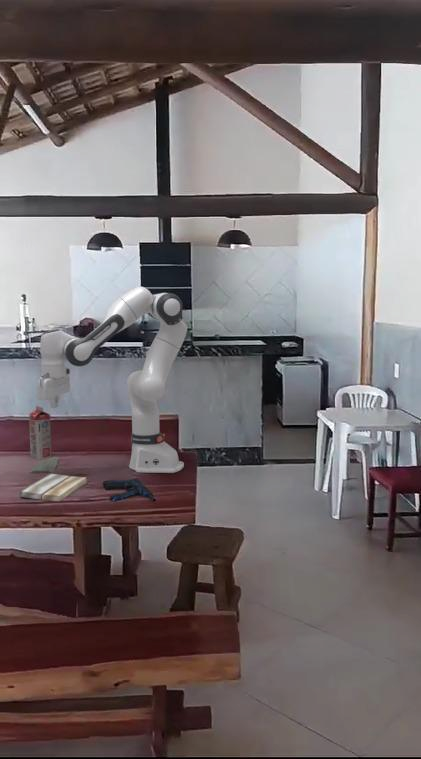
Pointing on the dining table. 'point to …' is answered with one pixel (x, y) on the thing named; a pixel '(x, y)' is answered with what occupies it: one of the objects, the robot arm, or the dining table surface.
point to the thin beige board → (64, 488)
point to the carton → (40, 434)
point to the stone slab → (45, 466)
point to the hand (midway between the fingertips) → (54, 407)
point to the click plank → (42, 486)
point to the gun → (128, 489)
